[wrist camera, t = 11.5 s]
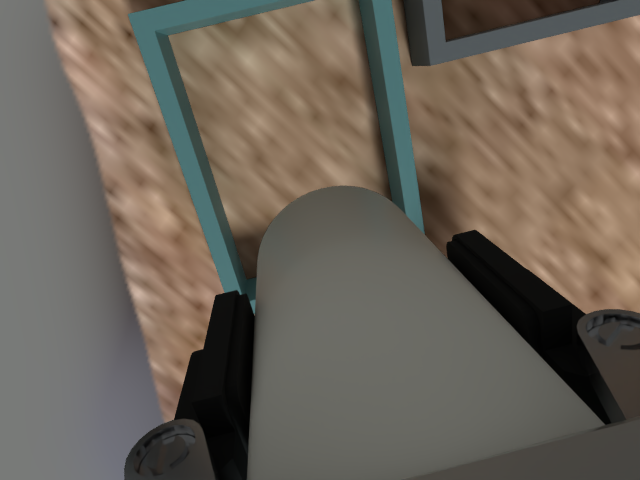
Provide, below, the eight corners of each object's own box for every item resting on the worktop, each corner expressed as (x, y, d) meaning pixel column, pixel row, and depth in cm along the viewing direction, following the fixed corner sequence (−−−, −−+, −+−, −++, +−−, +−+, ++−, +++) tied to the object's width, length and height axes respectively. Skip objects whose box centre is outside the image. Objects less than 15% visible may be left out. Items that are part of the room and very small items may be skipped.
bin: (370, -34, 31) (384, -47, 27) (414, 250, 39) (429, 269, 35) (144, 20, 30) (127, 14, 27) (237, 295, 39) (233, 319, 35)
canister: (406, 167, 13) (731, 396, 4) (428, 313, 15) (682, 698, 6) (236, 209, 13) (164, 549, 4) (280, 351, 15) (303, 804, 6)
